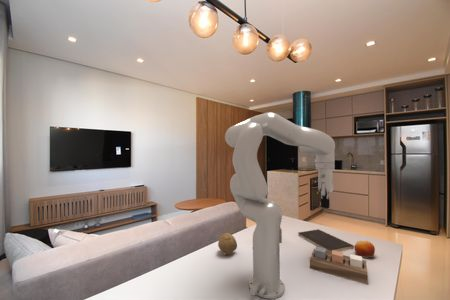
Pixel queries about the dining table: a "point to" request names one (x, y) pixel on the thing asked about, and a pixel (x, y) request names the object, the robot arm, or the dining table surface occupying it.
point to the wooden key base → (340, 267)
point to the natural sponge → (227, 243)
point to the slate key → (320, 252)
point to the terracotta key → (337, 256)
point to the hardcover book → (325, 240)
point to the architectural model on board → (280, 236)
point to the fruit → (364, 249)
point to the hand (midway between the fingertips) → (325, 207)
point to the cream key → (356, 261)
